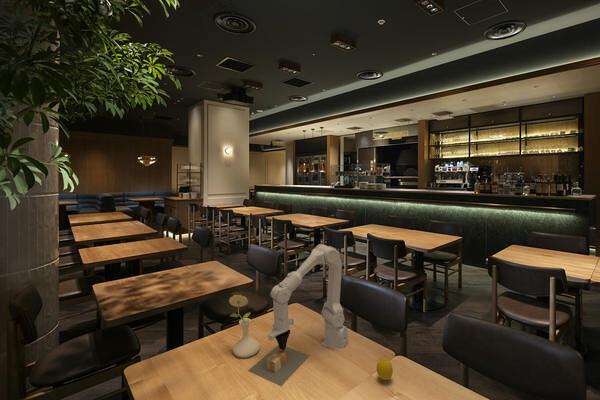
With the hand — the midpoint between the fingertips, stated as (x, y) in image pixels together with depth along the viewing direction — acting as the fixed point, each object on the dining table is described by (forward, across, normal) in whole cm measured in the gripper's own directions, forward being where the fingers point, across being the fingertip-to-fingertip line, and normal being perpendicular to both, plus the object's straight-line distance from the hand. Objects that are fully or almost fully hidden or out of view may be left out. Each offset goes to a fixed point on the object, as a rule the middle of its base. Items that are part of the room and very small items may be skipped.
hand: (282, 348), depth 117 cm
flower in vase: (+6, +3, -18) cm, 19 cm away
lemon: (+6, -10, +38) cm, 40 cm away
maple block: (+3, 0, 0) cm, 3 cm away
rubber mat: (+5, +2, 0) cm, 6 cm away
